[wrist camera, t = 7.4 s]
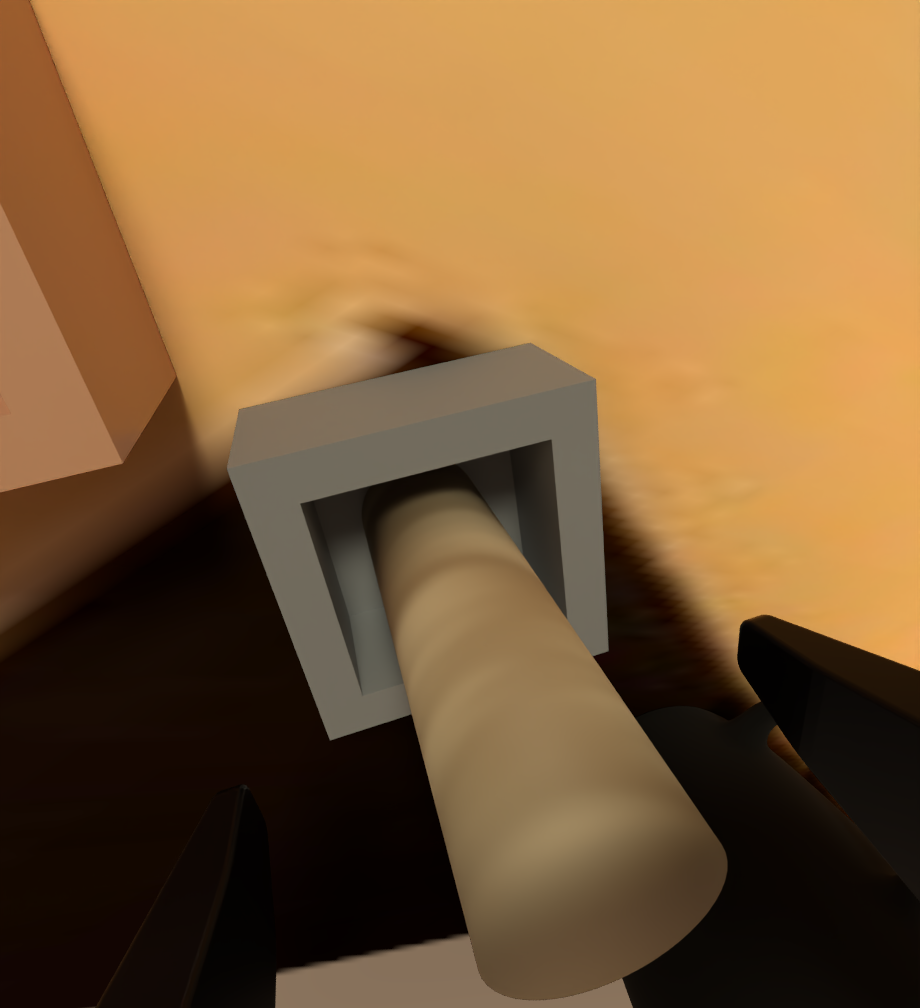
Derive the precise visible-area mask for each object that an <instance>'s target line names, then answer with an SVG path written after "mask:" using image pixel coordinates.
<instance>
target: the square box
mask: <svg viewBox="0 0 920 1008" xmlns="http://www.w3.org/2000/svg"><path fill="white" fill-rule="evenodd" d="M175 378H176V374H175V371H174V368H173V366H172V363H171V361H170V358H169V356H168V353H167V351H166V348H165V346H164V343H163V340H162V338H161V335H160V333H159V330H158V328H157V325H156V323H155V320H154V318H153V315H152V312H151V310H150V307H149V305H148V302H147V300H146V297H145V295H144V292H143V290H142V287H141V284H140V282H139V279H138V277H137V274H136V272H135V269H134V267H133V264H132V262H131V259H130V256H129V254H128V251H127V249H126V246H125V244H124V241H123V239H122V236H121V234H120V231H119V228H118V226H117V223H116V221H115V218H114V216H113V213H112V211H111V208H110V206H109V203H108V201H107V198H106V195H105V193H104V190H103V188H102V185H101V183H100V180H99V178H98V175H97V173H96V170H95V167H94V165H93V162H92V160H91V157H90V155H89V152H88V150H87V147H86V145H85V142H84V139H83V137H82V134H81V132H80V129H79V127H78V124H77V122H76V119H75V117H74V114H73V111H72V109H71V106H70V104H69V101H68V99H67V96H66V94H65V91H64V89H63V86H62V83H61V81H60V78H59V76H58V73H57V71H56V68H55V66H54V63H53V61H52V58H51V55H50V53H49V50H48V48H47V45H46V43H45V40H44V38H43V35H42V33H41V30H40V27H39V25H38V22H37V20H36V17H35V15H34V12H33V10H32V7H31V5H30V2H29V0H0V492H4V491H8V490H12V489H16V488H21V487H25V486H29V485H34V484H38V483H42V482H46V481H51V480H55V479H59V478H63V477H68V476H72V475H76V474H80V473H85V472H89V471H93V470H97V469H102V468H106V467H110V466H114V465H119V464H123V462H124V461H125V459H126V458H127V456H128V454H129V453H130V451H131V449H132V448H133V446H134V445H135V443H136V441H137V440H138V438H139V436H140V435H141V433H142V432H143V430H144V428H145V427H146V425H147V423H148V422H149V420H150V419H151V417H152V415H153V414H154V412H155V410H156V409H157V407H158V406H159V404H160V402H161V401H162V399H163V398H164V396H165V394H166V393H167V391H168V389H169V388H170V386H171V385H172V383H173V381H174V380H175Z"/></svg>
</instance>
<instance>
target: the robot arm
mask: <svg viewBox="0 0 920 1008" xmlns="http://www.w3.org/2000/svg"><path fill="white" fill-rule="evenodd" d="M737 660H738V664H739V667H740V670H741V672H742V673H743V675H744V676H745V678H746V679H747V681H748V682H749V684H750V685H751V687H752V688H753V690H754V691H755V693H756V694H757V695H758V697H759V698H760V700H761V701H762V703H763V704H764V706H765V707H766V709H767V710H768V712H769V713H770V715H771V716H772V718H773V719H774V721H775V722H776V723H777V725H778V726H779V728H780V729H781V731H782V732H783V734H784V735H785V737H786V738H787V740H788V741H789V742H790V744H791V745H792V747H793V748H794V749H795V751H796V752H797V754H798V755H799V756H800V757H801V759H802V760H803V761H804V762H805V764H806V765H807V766H808V767H809V769H810V770H811V771H812V772H813V773H814V775H815V776H816V777H817V778H818V779H819V781H820V782H821V783H822V784H823V786H824V787H825V788H826V789H827V790H828V792H829V793H830V794H831V795H832V796H833V798H834V799H835V800H836V801H837V802H838V804H839V805H840V806H841V807H842V808H843V810H844V811H845V812H846V813H847V814H848V816H849V817H850V818H851V819H852V820H853V822H854V823H855V824H856V825H857V827H858V828H859V829H860V830H861V831H862V833H863V834H864V835H865V836H866V837H867V839H868V840H869V841H870V842H871V843H872V845H873V846H874V847H875V848H876V849H877V851H878V852H879V853H880V854H881V855H882V857H883V858H884V859H885V860H886V861H887V863H888V864H889V865H890V866H891V868H892V869H893V870H894V871H895V872H896V874H897V875H898V876H899V877H900V878H901V880H902V881H903V882H904V883H905V884H906V886H907V887H908V888H909V889H910V890H911V892H912V893H913V894H914V895H915V896H916V898H917V899H918V900H919V901H920V671H919V670H916V669H913V668H911V667H908V666H905V665H903V664H900V663H897V662H895V661H892V660H889V659H886V658H884V657H881V656H878V655H876V654H873V653H870V652H868V651H865V650H862V649H860V648H857V647H854V646H851V645H849V644H846V643H843V642H841V641H838V640H835V639H833V638H830V637H827V636H825V635H822V634H819V633H816V632H814V631H811V630H808V629H806V628H803V627H800V626H798V625H795V624H792V623H789V622H787V621H784V620H781V619H779V618H776V617H773V616H770V615H760V616H757V617H754V618H751V619H748V620H745V621H743V623H742V624H741V626H740V633H739V643H738V654H737ZM275 996H276V935H275V921H274V909H273V896H272V883H271V871H270V858H269V845H268V834H267V827H266V823H265V820H264V817H263V815H262V813H261V811H260V809H259V807H258V805H257V803H256V801H255V799H254V797H253V795H252V793H251V791H250V790H249V788H248V787H247V786H246V785H238V786H235V787H231V788H228V789H225V790H222V791H220V792H218V793H216V794H215V795H214V797H213V798H212V800H211V801H210V803H209V805H208V807H207V809H206V810H205V812H204V814H203V816H202V818H201V819H200V821H199V823H198V825H197V827H196V828H195V830H194V832H193V834H192V836H191V837H190V839H189V841H188V843H187V844H186V846H185V848H184V850H183V852H182V853H181V855H180V857H179V859H178V861H177V862H176V864H175V866H174V868H173V870H172V871H171V873H170V875H169V877H168V879H167V880H166V882H165V884H164V886H163V888H162V889H161V891H160V893H159V895H158V897H157V898H156V900H155V902H154V904H153V906H152V907H151V909H150V911H149V913H148V915H147V916H146V918H145V920H144V922H143V924H142V925H141V927H140V929H139V931H138V933H137V934H136V936H135V938H134V940H133V942H132V943H131V945H130V947H129V949H128V951H127V952H126V954H125V956H124V958H123V960H122V961H121V963H120V965H119V967H118V969H117V970H116V972H115V974H114V976H113V978H112V979H111V981H110V983H109V985H108V987H107V988H106V990H105V992H104V994H103V996H102V997H101V999H100V1001H99V1003H98V1005H97V1006H96V1008H275Z"/></svg>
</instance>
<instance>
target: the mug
mask: <svg viewBox="0 0 920 1008" xmlns="http://www.w3.org/2000/svg"><path fill="white" fill-rule="evenodd" d="M635 719H636V721H637V722H638V724H639V725H640V726H641V728H642V729H643V731H644V732H645V734H646V735H647V737H648V738H649V740H650V741H651V742H652V744H653V745H654V747H655V748H656V750H657V751H658V753H659V754H660V756H661V757H662V759H663V760H664V761H665V763H666V764H667V766H668V767H669V769H670V770H671V772H672V773H673V775H674V776H675V777H676V779H677V780H678V782H679V783H680V785H681V786H682V788H683V789H684V791H685V792H686V793H687V795H688V796H689V798H690V799H691V801H692V802H693V804H694V805H695V807H696V808H697V809H698V811H699V812H700V814H701V815H702V817H703V818H704V820H705V821H706V823H707V824H708V826H709V827H710V828H711V830H712V831H713V833H714V834H715V836H716V837H717V839H718V840H719V842H720V843H721V844H722V846H723V848H724V850H725V852H726V857H727V874H726V879H725V882H724V885H723V887H722V890H721V892H720V894H719V896H718V898H717V899H716V901H715V903H714V904H713V906H712V907H711V909H710V910H709V911H708V913H707V914H706V915H705V916H704V918H703V919H702V920H701V921H700V922H699V923H698V924H697V925H696V926H695V927H694V928H693V929H692V931H691V932H690V933H688V934H687V935H686V936H685V937H684V938H683V939H682V940H681V941H679V942H678V943H677V944H676V945H674V946H673V947H672V948H671V949H669V950H668V951H667V952H665V953H664V954H662V955H661V956H659V957H658V958H656V959H655V960H654V961H652V962H650V963H649V964H647V965H645V966H644V967H642V968H640V969H638V970H637V971H635V972H633V973H631V974H629V975H627V976H625V977H623V978H622V979H623V981H624V984H625V987H626V989H627V993H628V995H629V998H630V1001H631V1003H632V1006H633V1008H920V901H919V900H918V899H917V898H916V896H915V895H914V894H913V893H912V892H911V890H910V889H909V888H908V887H907V886H906V884H905V883H904V882H903V881H902V880H901V878H900V877H899V876H898V875H897V874H896V872H895V871H894V870H893V869H892V868H891V866H890V865H889V864H888V863H887V861H886V860H885V859H884V858H883V857H882V855H881V854H880V853H879V852H878V851H877V849H876V848H875V847H874V846H873V845H872V843H871V842H870V841H869V840H868V839H867V837H866V836H865V835H864V834H863V833H862V831H861V830H860V829H859V828H858V827H857V826H856V825H855V824H854V823H853V822H852V821H851V820H850V819H849V818H848V817H847V816H845V815H844V814H843V813H842V812H841V811H840V810H839V809H838V808H837V807H836V806H835V805H834V804H832V803H831V802H830V801H829V800H828V799H827V798H826V797H825V796H824V795H823V794H821V793H820V792H819V791H818V790H817V789H816V788H815V787H814V786H812V785H811V784H810V783H809V782H808V781H807V780H806V779H804V778H803V777H802V776H801V775H800V774H799V773H797V772H796V771H795V770H794V769H793V768H792V767H791V766H789V765H788V764H787V763H786V762H785V761H783V760H782V759H781V758H780V757H779V756H777V755H776V754H775V753H774V752H773V751H771V750H770V748H769V747H768V746H767V738H768V735H769V733H770V731H771V730H772V729H773V728H774V727H775V726H776V725H777V723H776V722H775V721H774V719H773V718H772V716H771V715H770V713H769V712H768V710H767V709H766V707H765V706H764V704H763V703H762V701H761V702H759V703H757V704H755V705H754V706H752V707H751V708H749V709H747V710H746V711H745V712H743V713H742V714H740V715H739V716H737V717H735V718H734V719H732V720H729V721H728V720H727V719H725V718H723V717H721V716H719V715H716V714H714V713H712V712H709V711H707V710H704V709H700V708H696V707H689V706H674V707H666V708H661V709H657V710H654V711H651V712H648V713H645V714H643V715H640V716H638V717H636V718H635Z"/></svg>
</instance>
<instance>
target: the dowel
mask: <svg viewBox="0 0 920 1008" xmlns="http://www.w3.org/2000/svg"><path fill="white" fill-rule="evenodd" d="M362 523H363V528H364V532H365V536H366V539H367V543H368V547H369V551H370V555H371V559H372V562H373V566H374V570H375V574H376V578H377V582H378V586H379V589H380V593H381V597H382V601H383V605H384V609H385V613H386V616H387V620H388V624H389V628H390V632H391V636H392V640H393V643H394V647H395V651H396V655H397V659H398V663H399V667H400V670H401V674H402V678H403V682H404V686H405V690H406V694H407V697H408V701H409V705H410V709H411V713H412V717H413V721H414V724H415V728H416V732H417V736H418V740H419V744H420V748H421V751H422V755H423V759H424V763H425V767H426V771H427V775H428V778H429V782H430V786H431V790H432V794H433V798H434V802H435V805H436V809H437V813H438V817H439V821H440V825H441V829H442V832H443V836H444V840H445V844H446V848H447V852H448V856H449V859H450V863H451V867H452V871H453V875H454V879H455V882H456V886H457V890H458V894H459V898H460V902H461V906H462V909H463V913H464V917H465V921H466V925H467V929H468V933H469V936H470V940H471V944H472V947H473V952H474V956H475V959H476V963H477V967H478V971H479V973H480V975H481V978H482V979H483V981H484V982H485V983H486V984H487V986H489V987H490V988H491V989H493V990H494V991H496V992H498V993H500V994H502V995H504V996H507V997H511V998H515V999H522V1000H547V999H557V998H563V997H568V996H572V995H576V994H580V993H584V992H587V991H590V990H593V989H596V988H599V987H602V986H604V985H606V984H609V983H612V982H614V981H616V980H619V979H620V978H623V977H625V976H627V975H629V974H631V973H633V972H635V971H637V970H638V969H640V968H642V967H644V966H645V965H647V964H649V963H650V962H652V961H654V960H655V959H656V958H658V957H659V956H661V955H662V954H664V953H665V952H667V951H668V950H669V949H671V948H672V947H673V946H674V945H676V944H677V943H678V942H679V941H681V940H682V939H683V938H684V937H685V936H686V935H687V934H688V933H690V932H691V931H692V929H693V928H694V927H695V926H696V925H697V924H698V923H699V922H700V921H701V920H702V919H703V918H704V916H705V915H706V914H707V913H708V911H709V910H710V909H711V907H712V906H713V904H714V903H715V901H716V899H717V898H718V896H719V894H720V892H721V890H722V887H723V885H724V882H725V879H726V874H727V857H726V852H725V850H724V848H723V846H722V844H721V843H720V842H719V840H718V839H717V837H716V836H715V834H714V833H713V831H712V830H711V828H710V827H709V826H708V824H707V823H706V821H705V820H704V818H703V817H702V815H701V814H700V812H699V811H698V809H697V808H696V807H695V805H694V804H693V802H692V801H691V799H690V798H689V796H688V795H687V793H686V792H685V791H684V789H683V788H682V786H681V785H680V783H679V782H678V780H677V779H676V777H675V776H674V775H673V773H672V772H671V770H670V769H669V767H668V766H667V764H666V763H665V761H664V760H663V759H662V757H661V756H660V754H659V753H658V751H657V750H656V748H655V747H654V745H653V744H652V742H651V741H650V740H649V738H648V737H647V735H646V734H645V732H644V731H643V729H642V728H641V726H640V725H639V724H638V722H637V721H636V719H635V718H634V716H633V715H632V713H631V712H630V710H629V709H628V708H627V706H626V705H625V703H624V702H623V700H622V699H621V697H620V696H619V694H618V693H617V692H616V690H615V689H614V687H613V686H612V684H611V683H610V681H609V680H608V678H607V677H606V676H605V674H604V673H603V671H602V670H601V668H600V667H599V665H598V664H597V662H596V661H595V659H594V658H593V657H592V655H591V654H590V652H589V651H588V649H587V648H586V646H585V645H584V643H583V642H582V641H581V639H580V638H579V636H578V635H577V633H576V632H575V630H574V629H573V627H572V626H571V625H570V623H569V622H568V620H567V619H566V617H565V616H564V614H563V613H562V611H561V610H560V609H559V607H558V606H557V604H556V603H555V601H554V600H553V598H552V597H551V595H550V594H549V592H548V591H547V590H546V588H545V587H544V585H543V584H542V582H541V581H540V579H539V578H538V576H537V575H536V574H535V572H534V571H533V569H532V568H531V566H530V565H529V563H528V562H527V560H526V559H525V558H524V556H523V555H522V553H521V552H520V550H519V549H518V547H517V546H516V544H515V543H514V542H513V540H512V539H511V537H510V536H509V534H508V533H507V531H506V530H505V528H504V527H503V526H502V524H501V523H500V521H499V520H498V518H497V517H496V515H495V514H494V512H493V511H492V509H491V508H490V507H489V505H488V504H487V502H486V501H485V499H484V498H483V496H482V495H481V493H480V492H479V491H478V489H477V488H476V486H475V485H474V483H473V482H472V480H471V479H470V477H469V476H468V475H467V474H466V473H465V472H464V471H463V470H462V469H461V468H460V467H459V466H457V465H456V464H453V465H449V466H445V467H441V468H437V469H434V470H430V471H426V472H422V473H418V474H414V475H410V476H406V477H402V478H398V479H395V480H391V481H387V482H383V483H379V484H375V485H371V486H370V488H369V489H368V491H367V493H366V496H365V498H364V502H363V506H362Z"/></svg>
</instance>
